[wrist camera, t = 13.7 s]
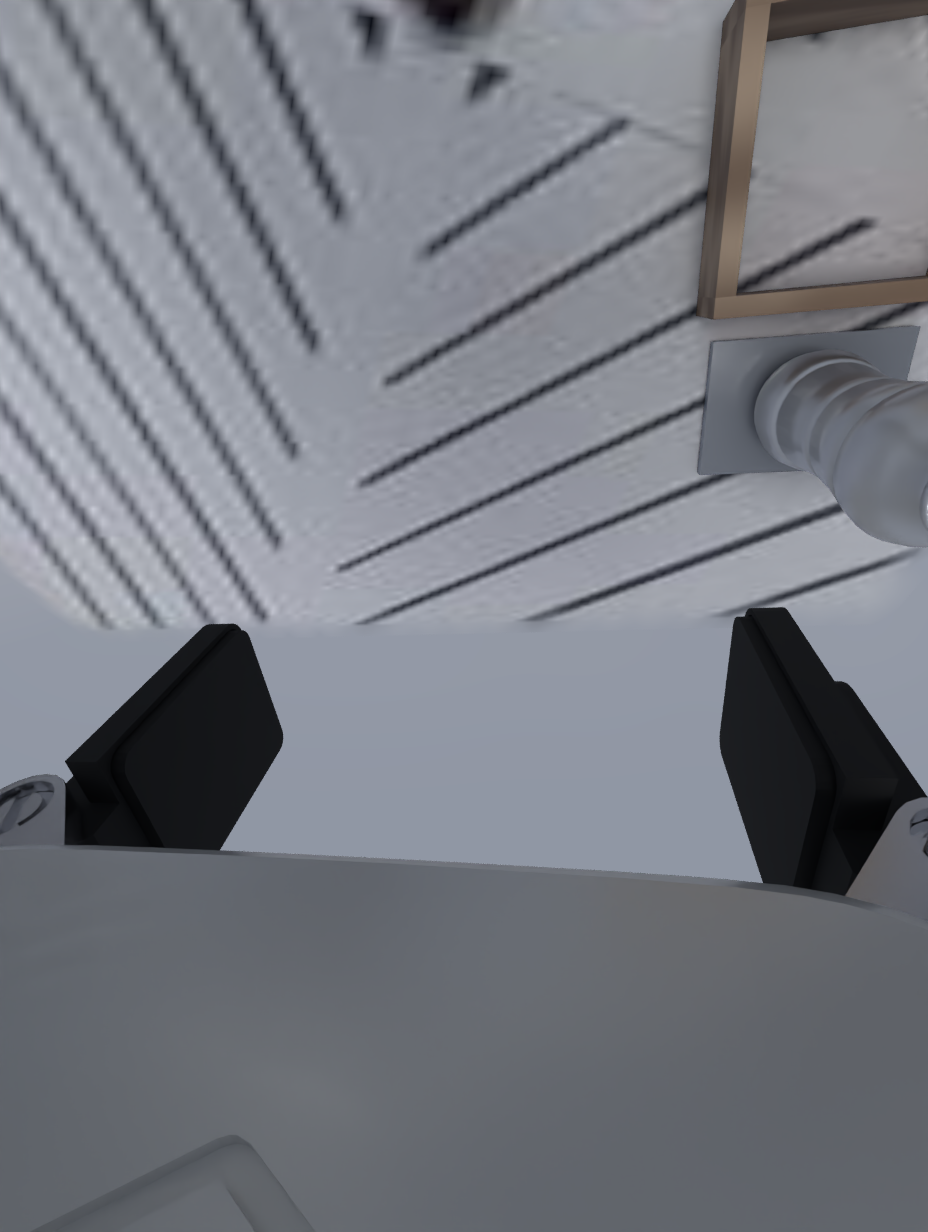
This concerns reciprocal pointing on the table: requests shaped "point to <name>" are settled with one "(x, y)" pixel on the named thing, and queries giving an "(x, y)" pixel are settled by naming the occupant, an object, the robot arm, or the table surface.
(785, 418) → the plastic bottle
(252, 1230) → the robot arm
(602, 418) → the table surface
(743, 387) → the slate tile
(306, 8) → the table surface
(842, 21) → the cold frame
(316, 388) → the table surface
